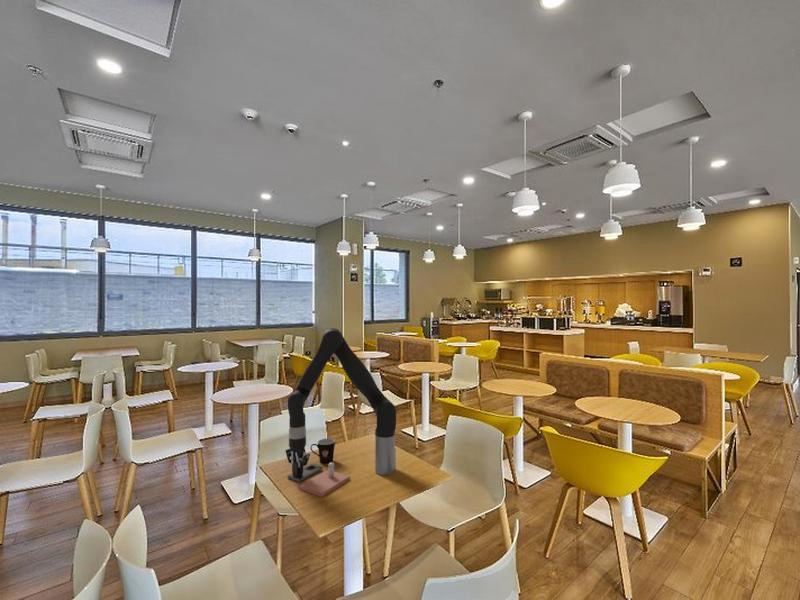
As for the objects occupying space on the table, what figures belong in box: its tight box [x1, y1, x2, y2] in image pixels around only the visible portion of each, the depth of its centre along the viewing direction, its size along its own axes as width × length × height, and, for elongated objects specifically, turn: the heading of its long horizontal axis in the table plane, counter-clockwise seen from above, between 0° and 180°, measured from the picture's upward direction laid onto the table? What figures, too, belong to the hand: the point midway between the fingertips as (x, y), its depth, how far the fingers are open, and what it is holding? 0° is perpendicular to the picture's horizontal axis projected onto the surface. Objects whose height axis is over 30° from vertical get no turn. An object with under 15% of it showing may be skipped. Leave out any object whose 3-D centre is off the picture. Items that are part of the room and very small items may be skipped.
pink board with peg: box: [298, 462, 351, 498], centre depth 162 cm, size 18×13×8 cm
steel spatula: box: [287, 461, 324, 483], centre depth 171 cm, size 15×7×7 cm, turn 149°
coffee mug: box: [309, 438, 336, 465], centre depth 186 cm, size 12×9×10 cm
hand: (297, 473), depth 167 cm, fingers closed on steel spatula, 3 cm apart
